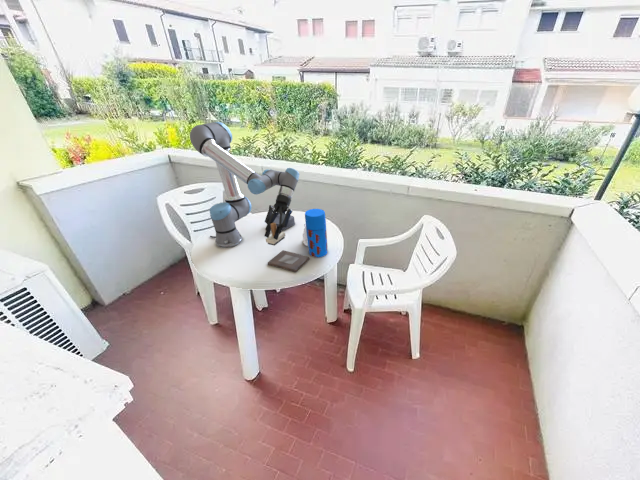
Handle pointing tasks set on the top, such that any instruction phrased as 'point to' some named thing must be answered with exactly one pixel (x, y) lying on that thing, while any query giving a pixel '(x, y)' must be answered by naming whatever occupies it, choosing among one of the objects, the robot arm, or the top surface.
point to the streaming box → (290, 222)
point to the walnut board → (288, 261)
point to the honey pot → (305, 236)
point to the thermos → (316, 232)
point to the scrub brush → (270, 239)
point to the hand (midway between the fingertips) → (270, 237)
